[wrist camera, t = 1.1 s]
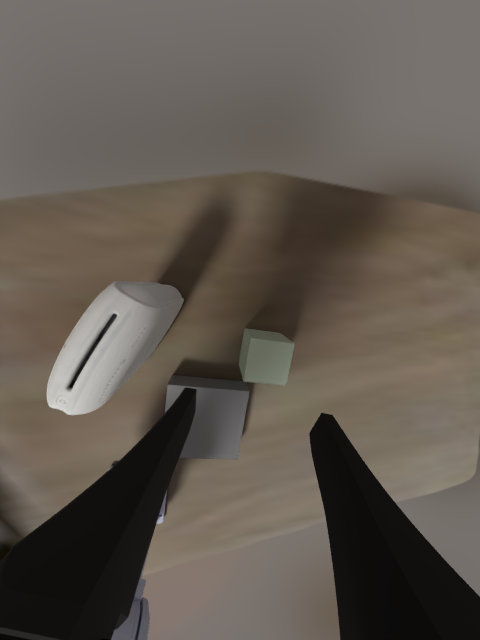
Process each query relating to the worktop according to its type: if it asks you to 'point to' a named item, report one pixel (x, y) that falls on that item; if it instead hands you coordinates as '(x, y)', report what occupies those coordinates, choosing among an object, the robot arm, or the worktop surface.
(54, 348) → the worktop surface
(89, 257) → the worktop surface
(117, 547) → the robot arm
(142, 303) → the photo printer
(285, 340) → the green cube
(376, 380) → the worktop surface
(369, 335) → the worktop surface
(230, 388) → the grey block
